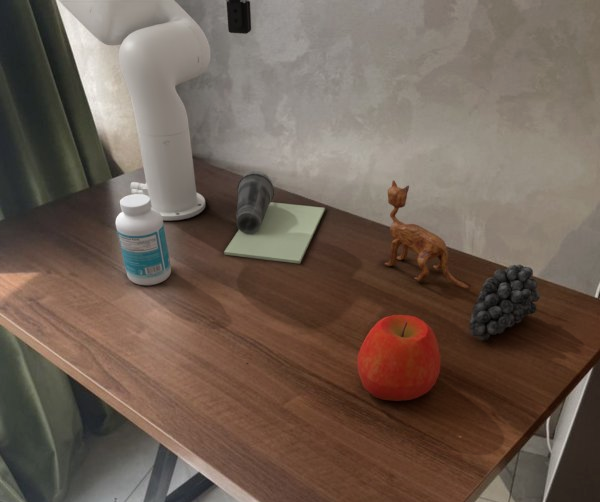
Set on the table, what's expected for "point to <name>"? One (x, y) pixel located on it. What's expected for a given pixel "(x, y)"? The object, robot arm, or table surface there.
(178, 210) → the robot arm
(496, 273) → the fruit
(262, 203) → the beverage cup
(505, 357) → the table surface
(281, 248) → the mat
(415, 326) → the apple
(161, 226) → the pill bottle
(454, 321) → the table surface
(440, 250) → the cat figurine
